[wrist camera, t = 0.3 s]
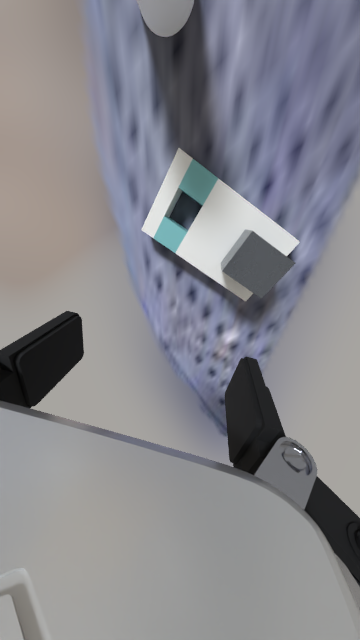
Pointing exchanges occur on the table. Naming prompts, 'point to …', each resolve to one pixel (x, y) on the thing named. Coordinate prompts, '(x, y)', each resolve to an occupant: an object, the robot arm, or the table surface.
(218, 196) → the docking board
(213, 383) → the table surface
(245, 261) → the grey rectangular block
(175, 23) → the cylindrical container
